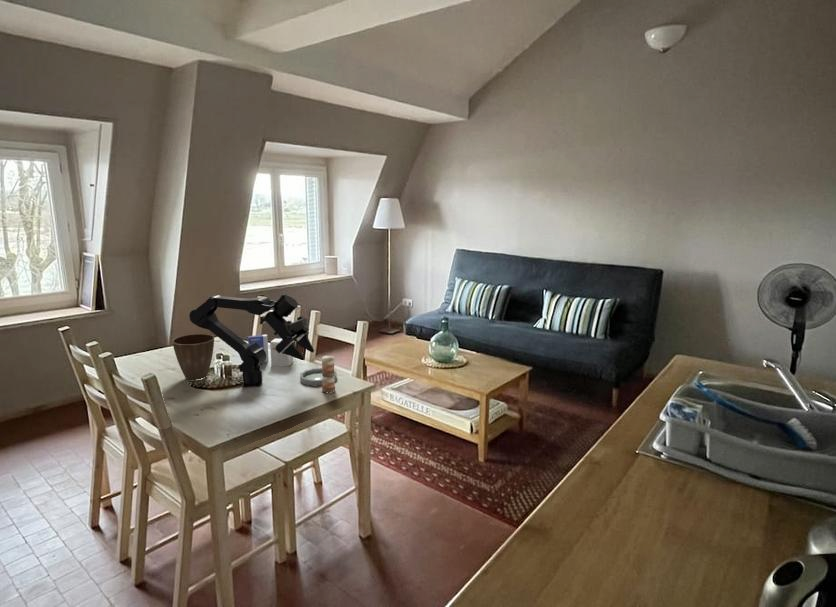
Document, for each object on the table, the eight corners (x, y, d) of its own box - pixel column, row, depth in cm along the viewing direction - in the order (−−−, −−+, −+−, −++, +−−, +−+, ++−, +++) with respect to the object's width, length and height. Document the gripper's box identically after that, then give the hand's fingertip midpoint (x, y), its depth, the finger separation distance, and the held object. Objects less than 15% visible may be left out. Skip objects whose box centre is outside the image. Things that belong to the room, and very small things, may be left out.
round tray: (300, 386, 186) (299, 381, 186) (300, 373, 199) (300, 369, 199) (337, 384, 189) (337, 379, 188) (335, 372, 202) (335, 367, 202)
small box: (293, 362, 213) (292, 338, 211) (289, 366, 208) (288, 342, 206) (275, 361, 214) (274, 338, 212) (270, 365, 209) (269, 341, 206)
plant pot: (177, 373, 197) (174, 335, 194) (217, 369, 202) (214, 332, 199) (173, 387, 183) (170, 346, 180) (216, 382, 189) (213, 342, 185)
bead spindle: (322, 393, 180) (321, 360, 177) (322, 388, 185) (321, 355, 182) (335, 392, 181) (334, 359, 178) (334, 387, 186) (334, 355, 183)
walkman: (250, 364, 210) (248, 337, 207) (249, 362, 212) (247, 335, 210) (269, 361, 213) (268, 335, 211) (268, 359, 216) (266, 333, 213)
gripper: (282, 316, 170) (313, 349, 170) (303, 305, 188) (331, 335, 188) (262, 337, 173) (292, 369, 173) (285, 324, 191) (312, 353, 191)
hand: (308, 355), depth 181 cm, fingers open, 9 cm apart
